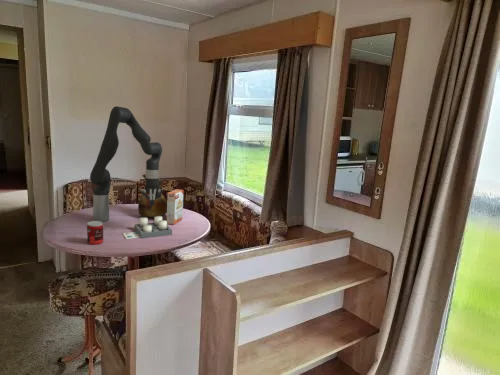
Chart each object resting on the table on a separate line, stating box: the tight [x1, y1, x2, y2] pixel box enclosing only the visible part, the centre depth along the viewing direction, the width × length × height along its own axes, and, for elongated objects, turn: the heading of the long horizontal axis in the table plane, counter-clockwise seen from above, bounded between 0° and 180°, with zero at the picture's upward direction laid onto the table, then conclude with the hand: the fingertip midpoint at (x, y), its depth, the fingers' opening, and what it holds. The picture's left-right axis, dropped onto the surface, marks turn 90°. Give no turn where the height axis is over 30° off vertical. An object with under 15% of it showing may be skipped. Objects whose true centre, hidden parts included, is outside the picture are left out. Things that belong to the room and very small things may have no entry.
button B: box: [153, 216, 163, 225], centre depth 218 cm, size 5×5×5 cm
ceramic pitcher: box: [137, 173, 167, 218], centre depth 240 cm, size 20×20×30 cm
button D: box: [159, 219, 168, 230], centre depth 210 cm, size 5×5×5 cm
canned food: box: [86, 220, 104, 246], centre depth 189 cm, size 8×8×11 cm
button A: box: [138, 216, 149, 227], centre depth 213 cm, size 5×5×5 cm
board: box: [133, 222, 173, 239], centre depth 212 cm, size 18×17×3 cm
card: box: [122, 231, 142, 240], centre depth 204 cm, size 9×9×1 cm
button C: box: [143, 225, 152, 232], centre depth 206 cm, size 5×5×5 cm
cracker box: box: [166, 188, 184, 226], centre depth 233 cm, size 14×6×21 cm, turn 168°
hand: (151, 205), depth 208 cm, fingers closed
